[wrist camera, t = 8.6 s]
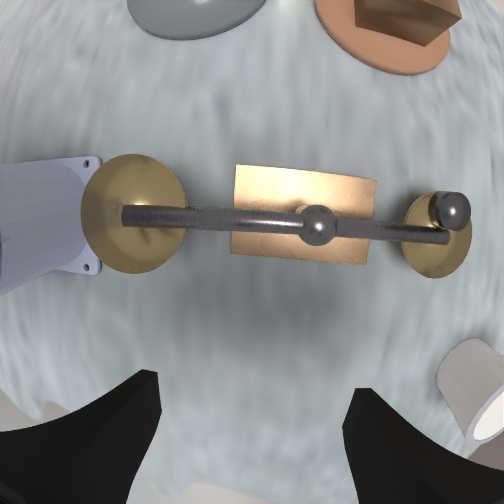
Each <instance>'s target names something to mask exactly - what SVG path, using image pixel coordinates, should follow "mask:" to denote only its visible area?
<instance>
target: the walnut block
mask: <svg viewBox="0 0 504 504" xmlns="http://www.w3.org/2000/svg"><path fill="white" fill-rule="evenodd" d="M354 8H355V27H359V28H363V29H367V30H371V31H375V32H379V33H383V34H386V35H390V36H393V37H396V38H399V39H403V40H406V41H409V42H412V43H415V44H417V45H420V46H423V47H426V46H427V45H428V44H429V43H431V42H432V41H433V40H434V39H436V38H437V37H438V36H439V35H441V34H442V33H443V32H445V31H446V30H447V29H448V28H450V27H451V26H452V25H454V24H455V23H456V22H458V21H459V20H460V19H461V18H462V16H461V12H460V8H459V4H458V1H457V0H354Z"/></svg>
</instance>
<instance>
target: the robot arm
mask: <svg viewBox="0 0 504 504" xmlns="http://www.w3.org/2000/svg"><path fill="white" fill-rule="evenodd" d="M88 161H89V163H90V164H89V166H88V167H87V165H86V164H87V162H88ZM100 166H101V160H100V158H99V157H96V156H87V157H72V158H60V159H49V160H40V161H31V162H23V163H15V164H0V296H1V295H3V294H5V293H7V292H9V291H11V290H13V289H15V288H17V287H19V286H21V285H23V284H25V283H27V282H29V281H31V280H33V279H35V278H37V277H39V276H42V275H44V274H46V273H48V272H50V271H52V270H54V269H56V270H62V271H68V272H75V273H81V274H88V275H96V274H98V273H99V272H100V259H99V258H98V257H97V256H96V255H95V254H94V252H93V251H92V250H91V248H90V246H89V245H88V243H87V241H86V238H85V236H84V233H83V229H82V225H81V215H80V210H81V201H82V196H83V193H84V190H85V187H86V185H87V183H88V181H89V180H90V178H91V176H92V175H93V174H94V172H95V171H96V170H97V169H98V168H99V167H100ZM87 264H88V266H89V269H88V268H87V266H86V265H87ZM161 413H162V409H161V401H160V393H159V384H158V375H157V372H154V371H149V370H144V369H141V370H140V371H138V372H137V373H136V374H134V375H133V376H131V377H130V378H128V379H127V380H126V381H124V382H123V383H121V384H120V385H118V386H117V387H115V388H114V389H112V390H111V391H109V392H108V393H106V394H105V395H103V396H102V397H100V398H98V399H96V400H95V401H93V402H91V403H90V404H88V405H86V406H84V407H82V408H81V409H79V410H76V411H74V412H72V413H70V414H68V415H65V416H63V417H61V418H58V419H55V420H52V421H49V422H46V423H43V424H40V425H36V426H32V427H28V428H23V429H18V430H12V431H5V432H0V504H126V501H127V498H128V495H129V491H130V488H131V485H132V483H133V480H134V478H135V475H136V473H137V471H138V469H139V467H140V465H141V462H142V460H143V458H144V456H145V454H146V452H147V450H148V448H149V446H150V443H151V441H152V439H153V437H154V435H155V432H156V429H157V426H158V423H159V420H160V416H161ZM342 429H343V438H344V445H345V451H346V454H347V458H348V462H349V466H350V469H351V473H352V476H353V480H354V484H355V487H356V491H357V496H358V501H359V504H504V471H503V470H498V469H493V468H490V467H487V466H484V465H480V464H477V463H475V462H472V461H470V460H467V459H465V458H463V457H461V456H459V455H457V454H454V453H452V452H451V451H449V450H447V449H445V448H444V447H442V446H440V445H439V444H437V443H435V442H434V441H432V440H431V439H429V438H428V437H426V436H425V435H424V434H422V433H421V432H420V431H419V430H417V429H416V428H415V427H413V426H412V425H411V424H410V423H409V422H407V421H406V420H405V419H404V418H403V417H402V416H401V415H399V414H398V413H397V412H396V411H395V410H394V409H393V408H392V407H391V406H390V405H389V404H388V403H386V402H385V401H384V400H383V399H382V398H381V397H380V396H379V395H378V394H377V393H376V392H375V391H374V390H372V389H371V388H355V391H354V394H353V397H352V400H351V403H350V406H349V409H348V412H347V415H346V417H345V420H344V423H343V425H342Z"/></svg>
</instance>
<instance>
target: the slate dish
mask: <svg viewBox="0 0 504 504" xmlns="http://www.w3.org/2000/svg"><path fill="white" fill-rule="evenodd" d="M265 1H266V0H127V4H128V9H129V12H130V14H131V16H132V17H133V19H134V20H135V21H136V22H137V23H138V24H139V25H140V26H141V28H142V29H144V30H145V31H147V32H148V33H150V34H152V35H154V36H157V37H160V38H165V39H171V40H192V39H200V38H205V37H209V36H213V35H216V34H219V33H222V32H225V31H227V30H230V29H232V28H234V27H236V26H238V25H239V24H241V23H243V22H245V21H246V20H247V19H249V18H250V17H251V16H253V15H254V14H255V13H256V12H257V11H258V10H259V9H260V8H261V6H262V5H263V4H264V2H265Z"/></svg>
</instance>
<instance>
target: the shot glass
mask: <svg viewBox="0 0 504 504" xmlns="http://www.w3.org/2000/svg"><path fill="white" fill-rule="evenodd" d="M436 384H437V386H438V387H439V389H440V391H441V393H442V395H443V397H444V398H445V400H446V402H447V404H448V406H449V408H450V410H451V412H452V413H453V415H454V417H455V419H456V421H457V423H458V425H459V427H460V429H461V431H462V433H463V435H464V437H465V439H466V442H467V444H468V445H471V446H478V445H481V444H483V443H486V442H488V441H490V440H491V439H493V438H494V437H496V436H497V435H499V434H500V433H501V432H502V431H504V355H502V354H501V353H499V352H498V351H496V350H495V349H493V348H492V347H490V346H489V345H487V344H486V343H484V342H482V341H481V340H479V339H478V338H473V339H467V340H465V341H463V342H461V343H459V344H458V345H457V346H456V347H455V348H454V349H453V350H451V351H450V352H449V353H448V355H447V356H446V358H445V359H444V360H443V362H442V363H441V365H440V368H439V370H438V373H437V381H436Z"/></svg>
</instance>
